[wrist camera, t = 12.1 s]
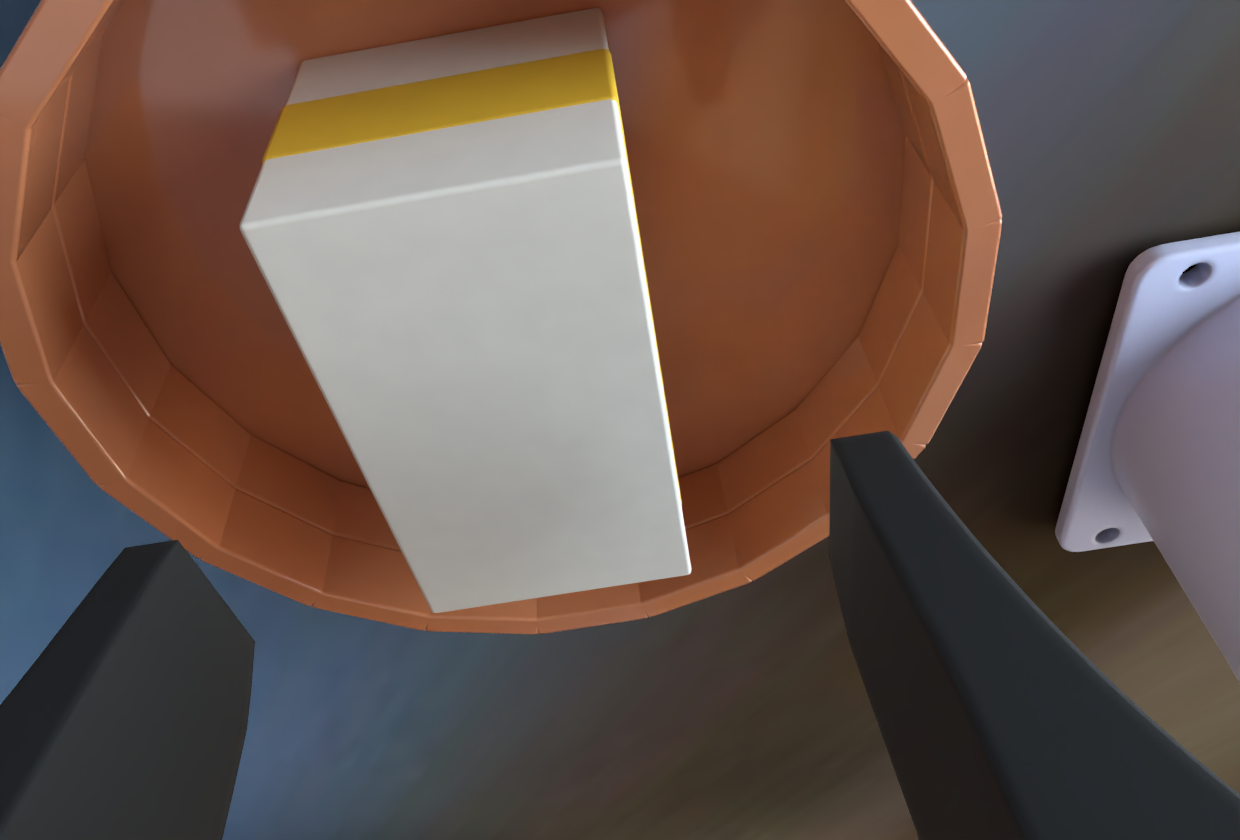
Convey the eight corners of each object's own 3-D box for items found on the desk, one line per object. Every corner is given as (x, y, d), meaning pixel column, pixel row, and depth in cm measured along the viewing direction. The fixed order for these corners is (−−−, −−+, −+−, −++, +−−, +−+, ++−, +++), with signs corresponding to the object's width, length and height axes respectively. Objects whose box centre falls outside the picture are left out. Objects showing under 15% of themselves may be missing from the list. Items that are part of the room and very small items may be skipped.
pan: (971, -362, 10) (1090, -325, 8) (900, 454, 19) (948, 574, 17) (-170, -139, 11) (-338, -49, 9) (278, 552, 20) (250, 679, 18)
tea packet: (602, 2, 12) (628, 157, 9) (664, 396, 17) (693, 576, 14) (297, 58, 12) (232, 225, 10) (445, 432, 17) (431, 616, 15)
